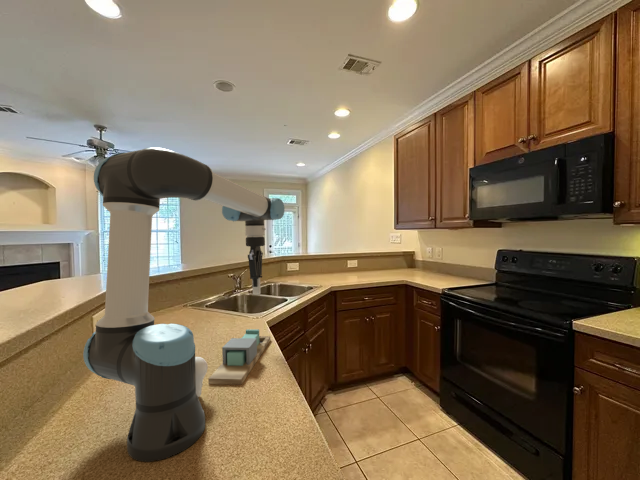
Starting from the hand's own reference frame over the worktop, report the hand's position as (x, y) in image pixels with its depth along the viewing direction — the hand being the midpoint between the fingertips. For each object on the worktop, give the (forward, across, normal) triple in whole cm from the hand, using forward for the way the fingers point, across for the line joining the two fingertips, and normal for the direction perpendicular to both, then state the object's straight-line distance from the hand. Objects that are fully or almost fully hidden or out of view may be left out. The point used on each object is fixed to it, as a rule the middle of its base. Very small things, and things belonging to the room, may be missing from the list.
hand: (256, 294), depth 116 cm
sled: (+18, -15, 0) cm, 24 cm away
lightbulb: (+20, -40, +5) cm, 45 cm away
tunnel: (+18, -20, 0) cm, 27 cm away
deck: (+19, -16, 0) cm, 25 cm away
